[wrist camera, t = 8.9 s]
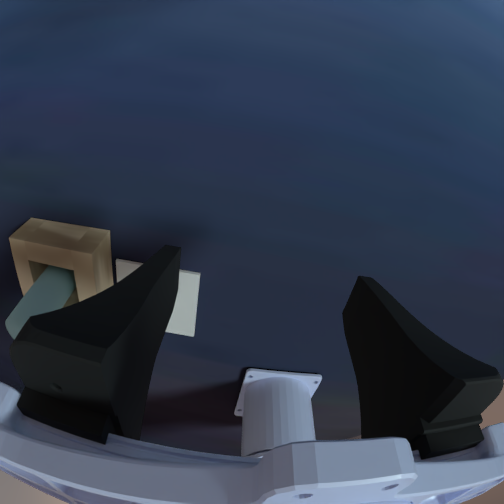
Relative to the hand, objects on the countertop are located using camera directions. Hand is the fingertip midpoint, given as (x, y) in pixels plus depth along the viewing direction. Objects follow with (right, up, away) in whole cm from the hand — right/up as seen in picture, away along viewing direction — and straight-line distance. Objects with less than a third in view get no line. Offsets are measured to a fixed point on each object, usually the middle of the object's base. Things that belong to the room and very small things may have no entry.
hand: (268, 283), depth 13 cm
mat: (-9, -3, +14) cm, 17 cm away
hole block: (-17, -3, +14) cm, 22 cm away
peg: (-16, 0, +12) cm, 20 cm away
